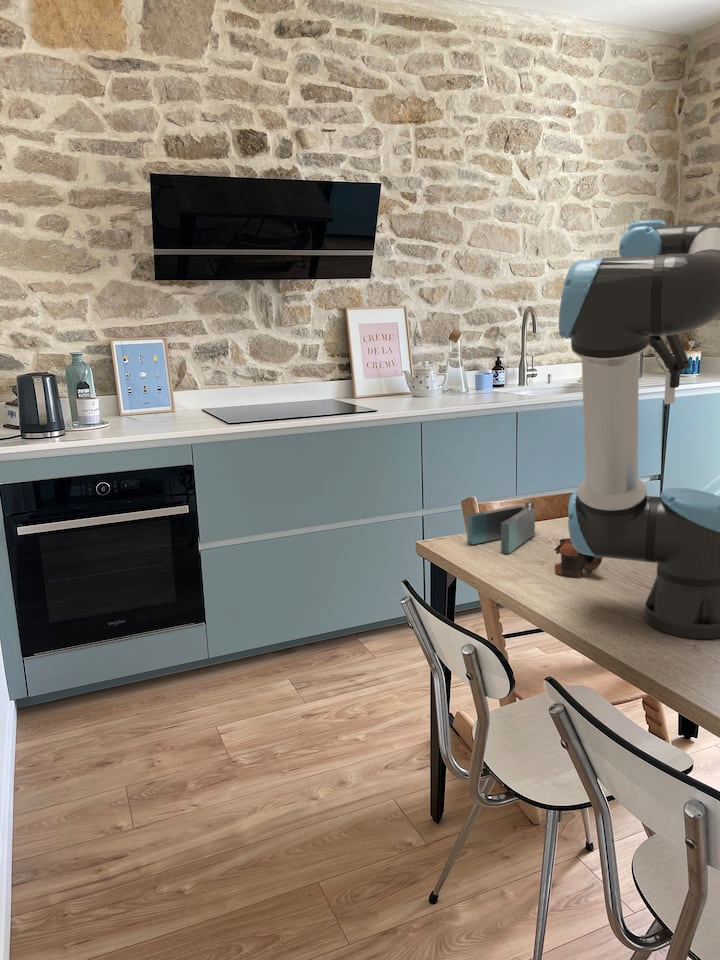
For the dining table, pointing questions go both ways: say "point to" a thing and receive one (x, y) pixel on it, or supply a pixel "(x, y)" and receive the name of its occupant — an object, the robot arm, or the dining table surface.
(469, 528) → the left tong arm
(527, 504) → the pivot post
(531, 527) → the right tong arm
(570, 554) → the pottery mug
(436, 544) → the dining table surface
